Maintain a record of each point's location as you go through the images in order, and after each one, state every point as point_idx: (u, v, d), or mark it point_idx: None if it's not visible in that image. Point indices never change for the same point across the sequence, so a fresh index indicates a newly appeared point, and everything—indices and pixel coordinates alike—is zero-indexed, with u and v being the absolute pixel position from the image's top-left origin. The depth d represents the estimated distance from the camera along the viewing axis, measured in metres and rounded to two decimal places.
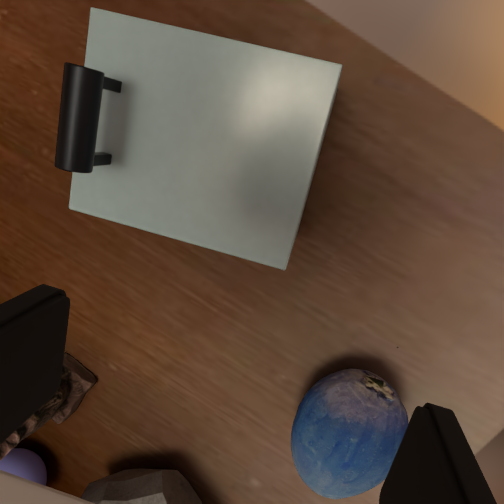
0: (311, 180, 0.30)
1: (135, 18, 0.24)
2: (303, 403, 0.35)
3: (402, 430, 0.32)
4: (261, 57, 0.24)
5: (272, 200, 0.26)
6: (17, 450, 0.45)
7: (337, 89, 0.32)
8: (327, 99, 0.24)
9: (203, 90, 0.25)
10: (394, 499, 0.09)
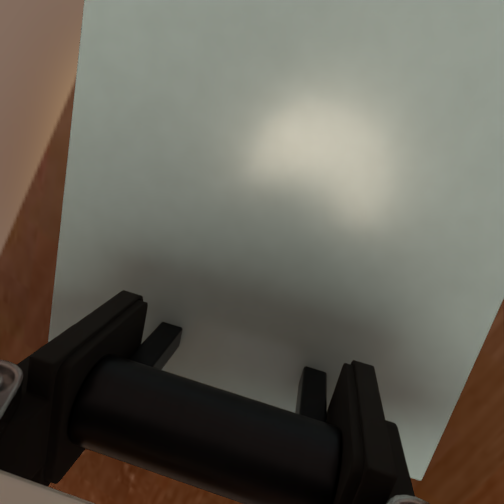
0: None
1: (56, 279, 0.13)
2: None
3: None
4: (103, 8, 0.11)
5: None
6: None
7: None
8: None
9: (173, 147, 0.11)
10: None
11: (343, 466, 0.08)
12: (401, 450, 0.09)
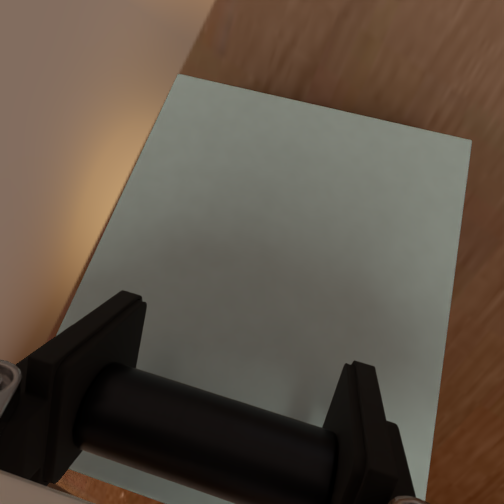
0: None
1: None
2: None
3: None
4: (150, 162, 0.16)
5: (359, 154, 0.16)
6: None
7: None
8: (218, 87, 0.18)
9: (184, 246, 0.15)
10: None
11: (344, 466, 0.08)
12: (402, 451, 0.09)
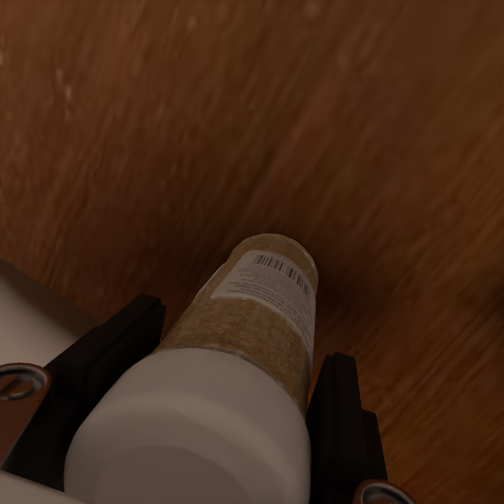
0: None
1: None
2: None
3: None
4: None
5: None
6: None
7: None
8: None
9: None
10: None
11: (318, 452, 0.08)
12: (378, 438, 0.09)
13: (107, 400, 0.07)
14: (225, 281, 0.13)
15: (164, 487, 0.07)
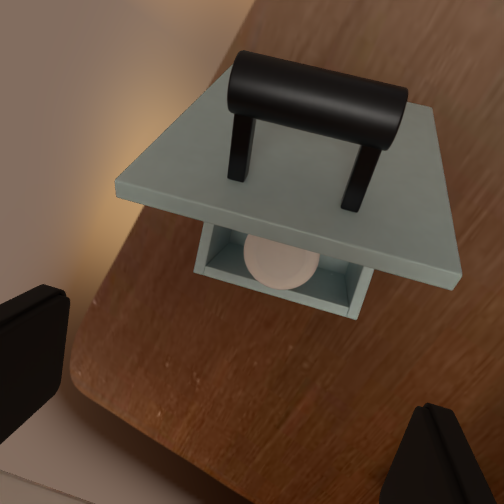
0: None
1: (150, 145, 0.17)
2: None
3: None
4: (221, 86, 0.23)
5: None
6: None
7: None
8: None
9: None
10: (394, 499, 0.09)
11: None
12: None
13: None
14: None
15: (277, 245, 0.24)
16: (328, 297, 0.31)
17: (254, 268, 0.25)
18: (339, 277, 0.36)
